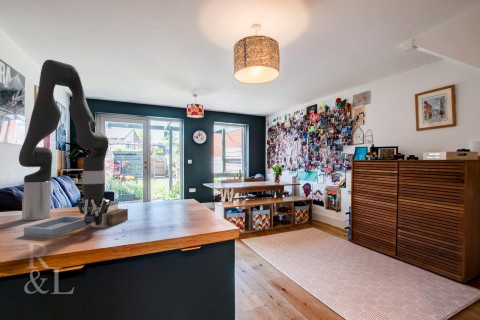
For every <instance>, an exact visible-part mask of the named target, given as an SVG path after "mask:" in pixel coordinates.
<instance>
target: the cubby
mask: <svg viewBox="0 0 480 320" xmlns="http://www.w3.org/2000/svg"><path fill="white" fill-rule="evenodd" d="M128 216H129V208H118V211H116V212H113V213H110V214H108V227H114V226H116V225H118V224H120V223H123V222H125V221H128V218H129V217H128Z"/></svg>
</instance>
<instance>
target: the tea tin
mask: <svg viewBox="0 0 480 320" xmlns="http://www.w3.org/2000/svg"><path fill="white" fill-rule="evenodd" d="M97 208H99V207H97ZM118 209H119V201H111V202H110V205H109V208H108V211H107V213H106V214H103V215H102V223H101V224H100V225H95V216H96V214H95V211H94V210H93V209H92V213H91V215H87V216H85V215H84V216H83V217H84V222H92V223H91V224H90V225H91V228H99V229H100V228H101V229H102V228H105V227H107V226H108V214H110V213H113V212H116V211H118ZM98 211H99V210H98ZM108 227H109V226H108Z"/></svg>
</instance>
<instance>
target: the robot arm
mask: <svg viewBox="0 0 480 320" xmlns="http://www.w3.org/2000/svg"><path fill="white" fill-rule="evenodd" d="M82 83H83V82H82V79H81V76H80V73H79V71H78V70H77V68H76V67H75V66H73V65H71V64H68V63H65V62H61V61H57V60H54V59H47V60H44V61H43V63H42V65H41V69H40V75H39V82H38V88H37V95H36V99H35V102H34V106H33V109H32V112H31V115H30V121H29V125H28V128H27V132H26V135H25V138H24V140H23V143H22V146H21V148H20V151H19V155H18V162H19V164H20V166H21V167H25V168H39V169H38V170H36V171H35V172H33V173H29V174H26V175H24V176H23V198H22V199H21V206H22V207H21V208H22V210H21V218H22V220H24V221H38V220H44V219H47V218H50V217H51V202H52V201H51V196H52V194H51V189H52V188H51V183H52V182H51V181H52V178H51V177H52V169H53V168H52V167H53V166H52V165H53V152H52V150H51V149H50V148H49V147H42V146H41V147H39V146H38V145H39V143H40V142H41V141H43V140H44V139H46V138H47V137H49V136H50V135H51V134H53V133H54V132H55V131H56V130H57V128H58V126H59V124H60V121H61V117H62V113H61V110H60V107H59V105H58V103H57V101H56V99H55V97H54V92H55V88H56V86H61V87H67V88H69V90H70V92H71V95H72V96H71V100H70V103H69V106H68V112H69V116H70V117H71V119H72V122H73V124H74V126H75V133H76V134H75V135H76V141H77V144H78V145H79V146H80V147H81V149H84V150H87V151H88V150H91V153H90V154H89V155H87V156H84V157H83V160H82V176H81V194H82V195H83V197H82V198H77V199H76V204H77V207H78V210H79V214H80V215H84V216H87V215H91V213H92V209H93V210H94V211H95V214H96V216H95V225H100V224H101V223H102V215H103V214H106V213H107V211H108V208H109V205H110V202H112V201H111V199H106V198H105V196H104V194H105V181H106V180H105V178H106V177H105V159H106V155H107V153H108V149H109V145H110V143H109V138H108V137H107V135H106V134H104V133H101V132H93V131H92V129H95V127H96V125H97V122H96V120H95V119H94V116H93V113H92V112H91V110H90V107H89V105H88V102H87V98H86V94H85V91H84V87H83V84H82ZM37 146H38V147H37ZM97 207H99V208H97ZM98 210H99V211H98ZM85 223H86V225H87V226H90V225H91V223H92V222H85ZM89 224H90V225H89Z"/></svg>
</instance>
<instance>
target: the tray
mask: <svg viewBox="0 0 480 320" xmlns="http://www.w3.org/2000/svg"><path fill="white" fill-rule="evenodd" d="M90 225H91V224H89V225H86V223H85V222H84V216H73V215H71V216H70V215H64V216H59V217H57V218H53V219H49V220H46V221H42V222H38V223H36V224H31V225H28V226H24V227H23V236H25V237H36V238H37V237H38V238H50V239H53V238H55V237H58V236H61V235H65V234H67V233H69V232H71V231H75V230H77V229H82V228H84V227H86V226H90Z"/></svg>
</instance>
